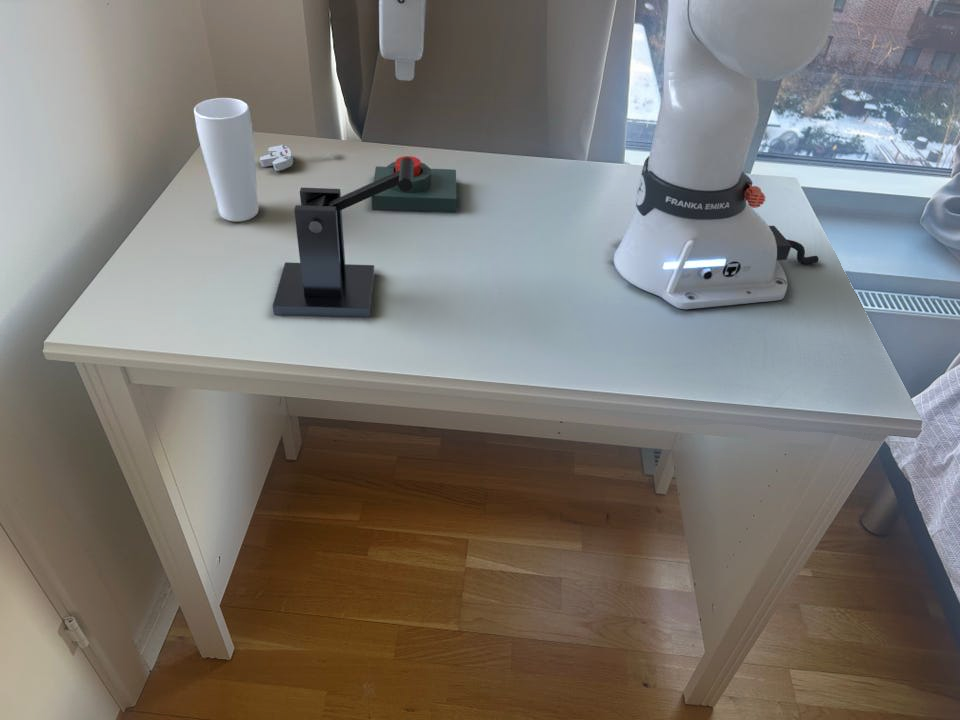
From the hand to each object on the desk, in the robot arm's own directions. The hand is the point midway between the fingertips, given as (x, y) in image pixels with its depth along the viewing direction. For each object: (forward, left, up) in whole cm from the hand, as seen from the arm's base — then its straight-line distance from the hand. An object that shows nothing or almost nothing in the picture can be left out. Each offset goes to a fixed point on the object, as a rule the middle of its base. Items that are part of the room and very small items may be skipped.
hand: (405, 75), depth 73 cm
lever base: (+10, 0, -27) cm, 28 cm away
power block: (0, -25, -27) cm, 37 cm away
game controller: (+18, -34, -27) cm, 47 cm away
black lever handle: (+5, 0, -14) cm, 15 cm away
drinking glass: (+24, -18, -27) cm, 40 cm away
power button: (+1, -25, -23) cm, 34 cm away
